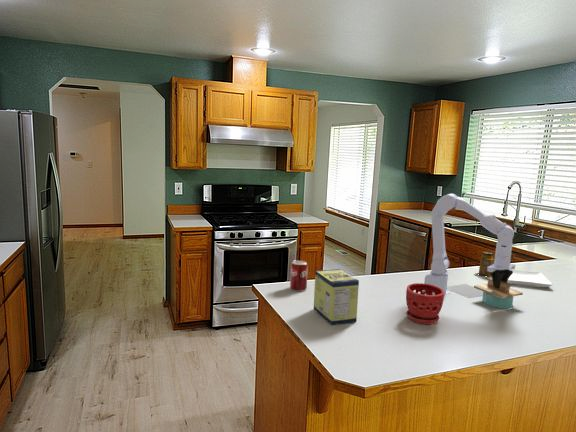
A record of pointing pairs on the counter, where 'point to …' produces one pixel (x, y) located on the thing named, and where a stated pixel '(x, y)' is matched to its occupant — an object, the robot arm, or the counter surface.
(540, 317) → the counter surface
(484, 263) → the condiment
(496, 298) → the teal bowl
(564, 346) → the counter surface
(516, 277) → the salad plate
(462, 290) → the grey mat
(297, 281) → the soda can
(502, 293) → the oak lid
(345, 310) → the protein box
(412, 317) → the plant pot
